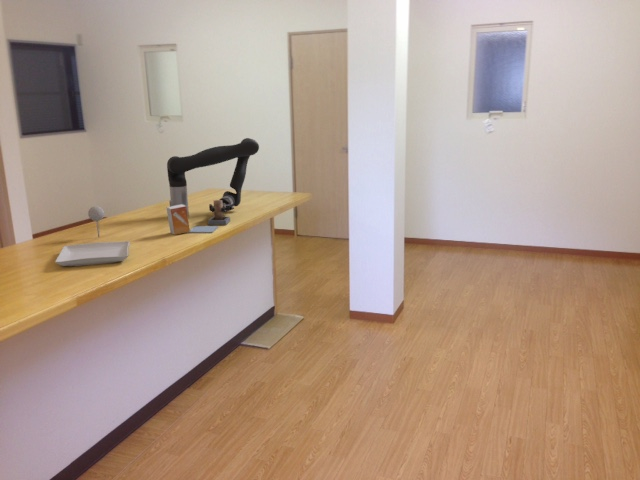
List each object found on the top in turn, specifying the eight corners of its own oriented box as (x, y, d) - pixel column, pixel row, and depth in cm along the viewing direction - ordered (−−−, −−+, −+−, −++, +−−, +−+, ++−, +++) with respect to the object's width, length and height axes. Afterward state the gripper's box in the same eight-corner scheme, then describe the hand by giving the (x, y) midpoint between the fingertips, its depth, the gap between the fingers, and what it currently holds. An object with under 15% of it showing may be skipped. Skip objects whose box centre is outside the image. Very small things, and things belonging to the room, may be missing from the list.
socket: (208, 225, 291) (207, 220, 290) (212, 221, 300) (212, 216, 299) (226, 225, 290) (225, 220, 289) (230, 221, 299) (229, 216, 299)
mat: (188, 232, 274) (188, 231, 274) (195, 227, 286) (195, 226, 286) (212, 233, 274) (212, 231, 273) (218, 227, 285) (218, 226, 285)
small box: (174, 235, 270) (170, 209, 266) (170, 232, 275) (165, 207, 271) (190, 231, 274) (186, 205, 270) (186, 229, 279) (181, 203, 275)
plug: (213, 224, 293) (212, 201, 290) (216, 222, 297) (214, 199, 294) (222, 224, 292) (221, 201, 289) (224, 222, 297) (223, 199, 294)
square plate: (129, 264, 225) (128, 254, 224) (55, 271, 218) (53, 261, 217) (130, 247, 250) (130, 239, 249) (64, 253, 243) (63, 244, 242)
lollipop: (110, 235, 271) (106, 205, 267) (99, 239, 264) (96, 208, 261) (97, 234, 273) (94, 204, 269) (87, 238, 267) (83, 207, 263)
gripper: (211, 197, 306) (203, 203, 290) (237, 197, 305) (230, 203, 289) (212, 210, 308) (204, 217, 292) (238, 210, 307) (231, 217, 291)
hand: (217, 210), depth 290 cm, fingers closed on plug, 4 cm apart
